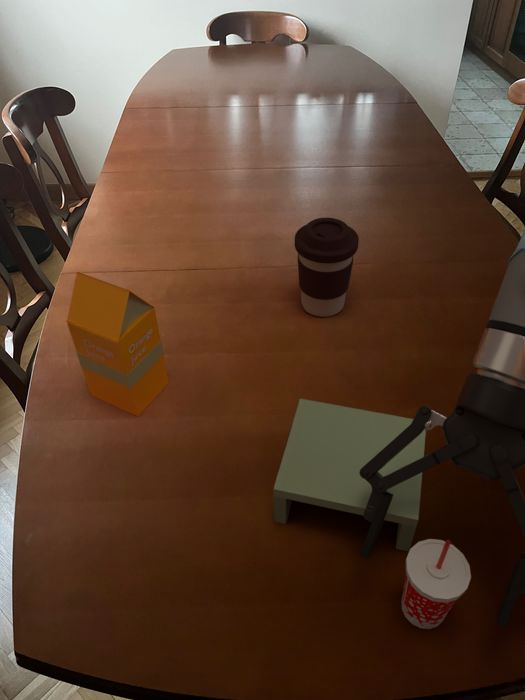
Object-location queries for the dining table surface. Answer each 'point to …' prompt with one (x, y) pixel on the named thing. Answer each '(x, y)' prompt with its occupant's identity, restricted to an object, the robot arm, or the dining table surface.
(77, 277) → the orange juice
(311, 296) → the coffee cup
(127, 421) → the dining table surface
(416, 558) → the beverage cup
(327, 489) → the shelf
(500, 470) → the robot arm
